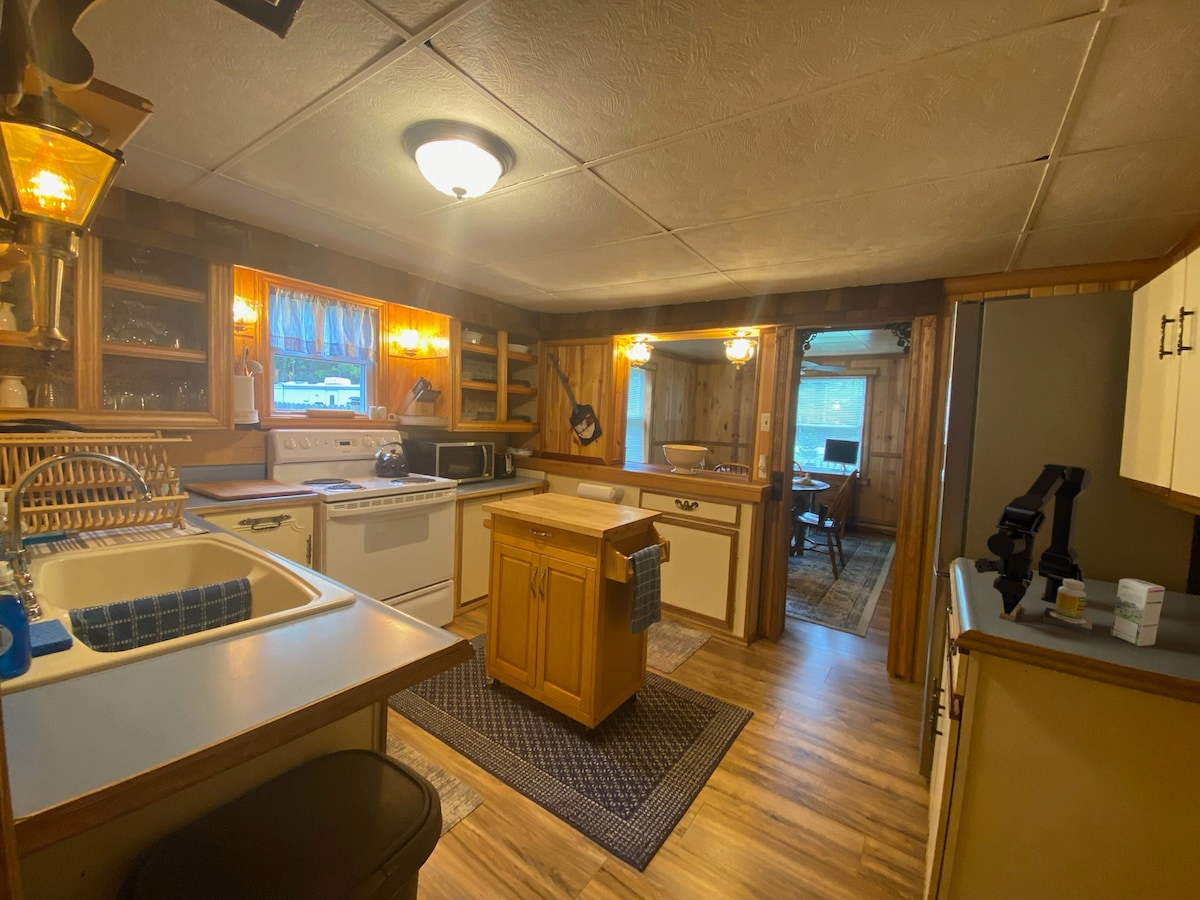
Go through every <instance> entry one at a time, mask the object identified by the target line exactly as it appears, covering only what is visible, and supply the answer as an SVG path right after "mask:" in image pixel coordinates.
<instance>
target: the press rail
mask: <svg viewBox="0 0 1200 900" xmlns="http://www.w3.org/2000/svg"><path fill="white" fill-rule="evenodd" d="M1021 608H1022V603H1020V602H1019V603H1018V609H1017V614H1016V616H1015V617H1014V616H1010V615H1006V614H1003V613H1001V612H1000V614H999V619H1002V618H1003V619H1002V620H1006V621H1009V620H1010V621H1009V622H1013V623H1015V621H1016V619H1017V617H1018V615H1019V613H1020V610H1021Z"/></svg>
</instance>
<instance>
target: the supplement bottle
mask: <svg viewBox="0 0 1200 900" xmlns="http://www.w3.org/2000/svg"><path fill="white" fill-rule="evenodd" d="M1063 585H1064V586H1061V587H1059V588H1058V593H1057V600H1056V603H1055V605H1054V606H1055V607H1054V609H1055V612H1054V613H1055V614H1056V615H1057V616H1059V617H1061V618H1063V619H1067V620H1071V621H1081V620H1082V618H1083V617H1084V611H1085V606H1086V601H1087V593H1086V592H1085V590H1084V589H1085V585H1086V584H1085V583H1084V582H1080V581H1077V580H1073V579H1063Z"/></svg>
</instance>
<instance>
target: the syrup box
mask: <svg viewBox="0 0 1200 900" xmlns="http://www.w3.org/2000/svg"><path fill="white" fill-rule="evenodd" d="M1165 590H1166V587H1164V586H1161V585H1158V584H1155V583H1151V582H1148V581H1145V580H1141V579H1139V578H1130V577H1129V578H1121V579H1119V582H1118V588H1117V593H1116V599H1115V606H1114V609H1113V611H1114V612H1113V617H1112V621H1111V626H1110V627H1111V629H1110V632H1109V635H1110V636H1111V637H1114V638H1118V639H1120V640H1122V641H1124V642H1127V643H1130V644H1132V645H1135V646H1137V647H1138V646H1139V647H1140V646H1141V647H1142V646H1143V647H1144V646H1154V645H1155V644H1156V638H1157V631H1158V626H1159V622H1160V621H1159V620H1160V615H1161V610H1162V606H1163V602H1164V596H1165Z"/></svg>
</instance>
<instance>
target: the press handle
mask: <svg viewBox="0 0 1200 900" xmlns="http://www.w3.org/2000/svg"><path fill="white" fill-rule="evenodd" d="M1001 601H1002V602H1001V606H1000V613H1003V614H1005V613H1004V606H1003V599H1002V600H1001ZM1017 609H1018V605H1017V606H1016V607H1015V609H1014V610H1013V611H1012V613H1011V614H1010V616H1014V617H1015V616H1016V614H1017ZM1006 615H1008V614H1006Z"/></svg>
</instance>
